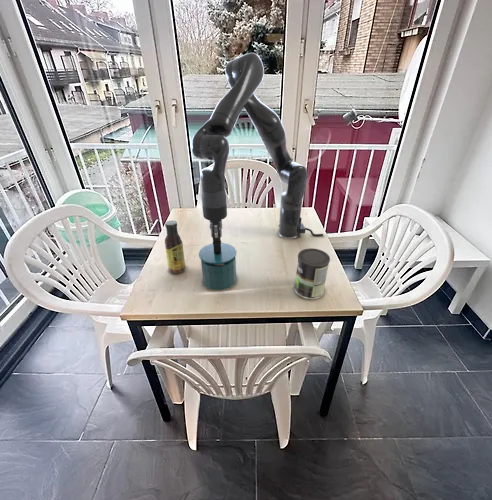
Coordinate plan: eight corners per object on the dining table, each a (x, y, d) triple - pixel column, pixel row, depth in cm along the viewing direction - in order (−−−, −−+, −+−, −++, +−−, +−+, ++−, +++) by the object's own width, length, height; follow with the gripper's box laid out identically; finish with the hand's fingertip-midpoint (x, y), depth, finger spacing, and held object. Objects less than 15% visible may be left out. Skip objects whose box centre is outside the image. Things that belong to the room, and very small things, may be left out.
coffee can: (295, 299, 96) (299, 265, 88) (293, 280, 105) (296, 247, 97) (326, 300, 96) (333, 266, 88) (321, 281, 104) (326, 248, 97)
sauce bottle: (177, 276, 106) (169, 229, 96) (165, 270, 109) (156, 224, 98) (189, 267, 111) (183, 221, 100) (177, 262, 114) (170, 217, 103)
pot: (234, 269, 110) (234, 246, 104) (237, 289, 100) (236, 265, 94) (203, 272, 108) (201, 248, 103) (203, 292, 99) (200, 267, 93)
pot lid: (235, 244, 104) (234, 230, 101) (237, 264, 94) (237, 249, 90) (199, 246, 103) (198, 232, 100) (198, 267, 92) (196, 251, 89)
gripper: (227, 211, 82) (229, 260, 92) (225, 193, 94) (227, 238, 103) (201, 212, 82) (206, 262, 91) (202, 194, 93) (206, 240, 102)
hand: (217, 249), depth 97 cm, fingers closed on pot lid, 2 cm apart
